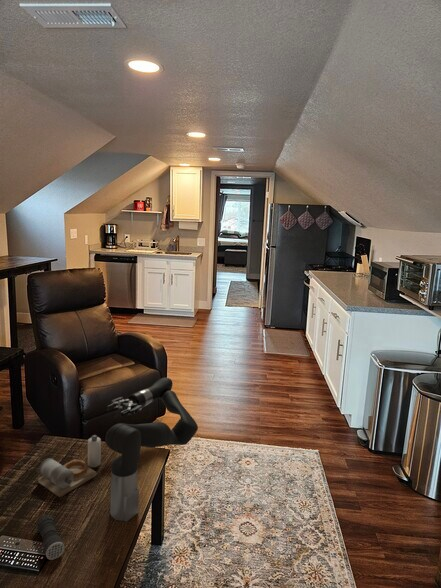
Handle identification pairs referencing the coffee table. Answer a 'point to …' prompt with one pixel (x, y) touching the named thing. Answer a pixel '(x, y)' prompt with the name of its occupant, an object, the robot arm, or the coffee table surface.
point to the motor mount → (64, 475)
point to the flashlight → (50, 537)
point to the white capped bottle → (94, 451)
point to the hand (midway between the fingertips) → (113, 411)
